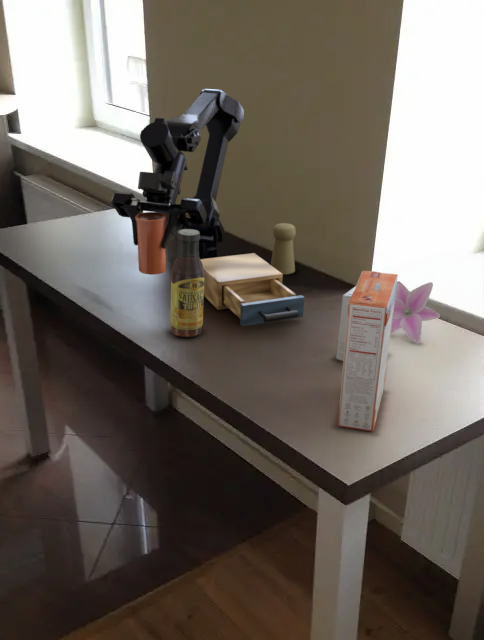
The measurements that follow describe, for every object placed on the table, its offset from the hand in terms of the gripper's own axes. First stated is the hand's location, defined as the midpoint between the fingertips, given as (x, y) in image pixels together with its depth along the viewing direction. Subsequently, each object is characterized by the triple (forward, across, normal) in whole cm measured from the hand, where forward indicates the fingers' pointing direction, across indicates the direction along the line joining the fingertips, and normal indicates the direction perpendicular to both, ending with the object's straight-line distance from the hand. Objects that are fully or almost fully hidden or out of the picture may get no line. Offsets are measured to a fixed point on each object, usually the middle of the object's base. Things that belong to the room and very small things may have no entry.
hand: (148, 246), depth 147 cm
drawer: (+6, +23, +12) cm, 26 cm away
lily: (+6, +51, +14) cm, 53 cm away
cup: (+3, 0, +5) cm, 6 cm away
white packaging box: (+16, +45, +4) cm, 48 cm away
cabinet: (-1, +14, +20) cm, 24 cm away
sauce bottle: (+16, +11, +4) cm, 19 cm away
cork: (-13, +20, +33) cm, 41 cm away
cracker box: (+29, +47, -10) cm, 56 cm away
